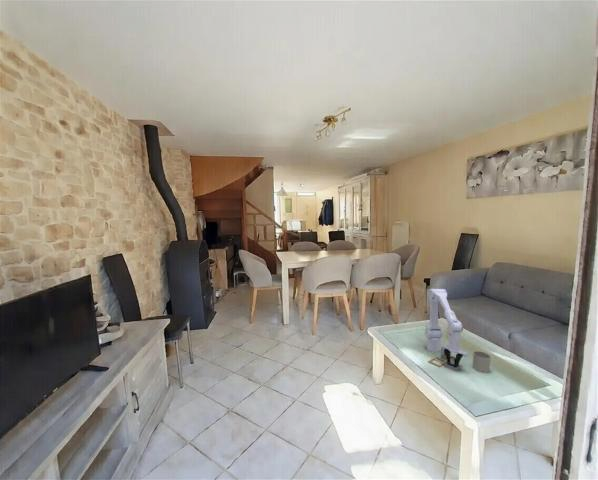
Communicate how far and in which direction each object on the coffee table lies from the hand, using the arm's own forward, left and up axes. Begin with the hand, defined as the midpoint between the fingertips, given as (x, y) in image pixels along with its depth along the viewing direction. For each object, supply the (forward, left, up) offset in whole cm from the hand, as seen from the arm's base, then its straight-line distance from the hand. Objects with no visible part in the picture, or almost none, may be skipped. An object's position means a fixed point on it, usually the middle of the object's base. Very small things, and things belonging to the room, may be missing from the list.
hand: (452, 363), depth 158 cm
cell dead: (-7, -8, -2) cm, 11 cm away
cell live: (0, 0, -2) cm, 2 cm away
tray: (+2, -8, -3) cm, 9 cm away
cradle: (-1, 0, -3) cm, 4 cm away
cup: (-12, +11, -3) cm, 17 cm away
